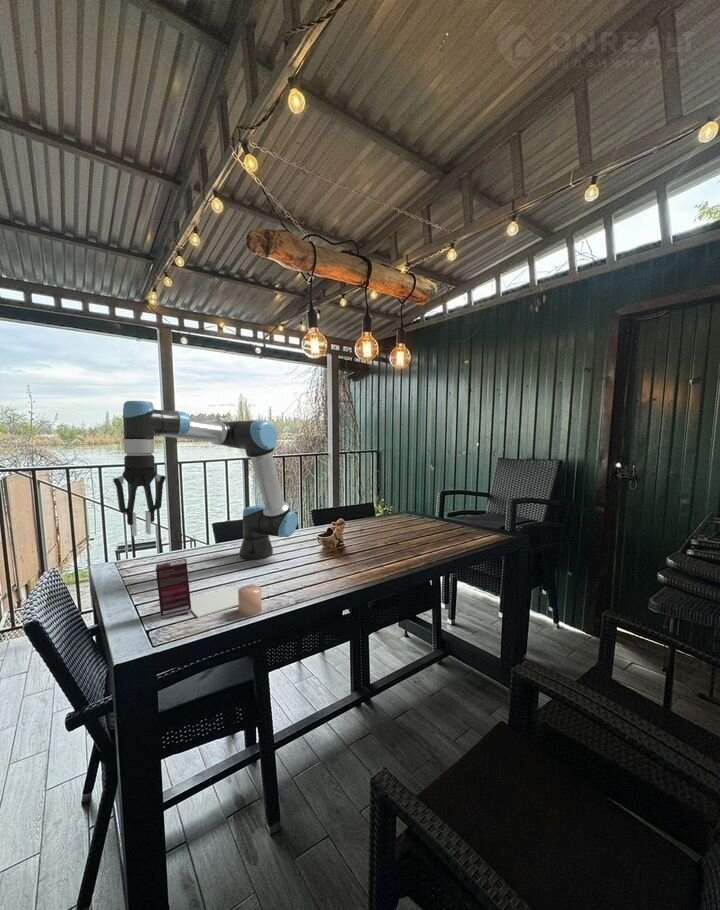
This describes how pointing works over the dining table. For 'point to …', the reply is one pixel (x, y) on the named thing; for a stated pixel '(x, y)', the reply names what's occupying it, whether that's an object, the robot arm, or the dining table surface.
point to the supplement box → (173, 588)
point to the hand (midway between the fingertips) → (141, 534)
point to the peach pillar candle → (249, 600)
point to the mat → (214, 601)
